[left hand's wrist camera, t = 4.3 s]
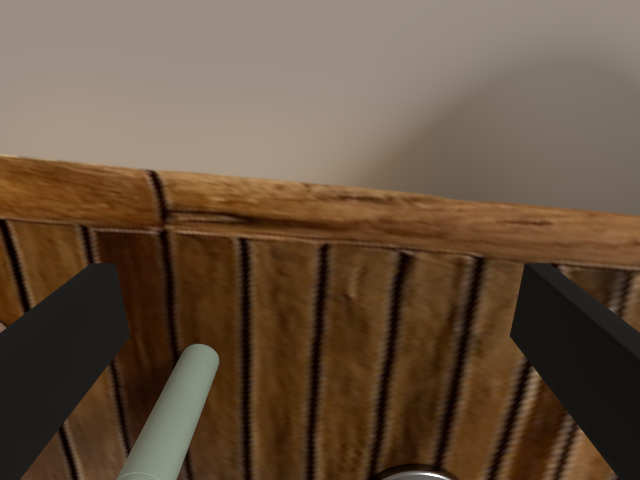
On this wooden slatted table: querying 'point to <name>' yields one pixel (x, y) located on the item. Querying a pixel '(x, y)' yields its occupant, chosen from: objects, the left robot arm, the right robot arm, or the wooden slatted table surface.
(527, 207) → the wooden slatted table surface
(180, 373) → the bottle
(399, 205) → the wooden slatted table surface
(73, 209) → the wooden slatted table surface
